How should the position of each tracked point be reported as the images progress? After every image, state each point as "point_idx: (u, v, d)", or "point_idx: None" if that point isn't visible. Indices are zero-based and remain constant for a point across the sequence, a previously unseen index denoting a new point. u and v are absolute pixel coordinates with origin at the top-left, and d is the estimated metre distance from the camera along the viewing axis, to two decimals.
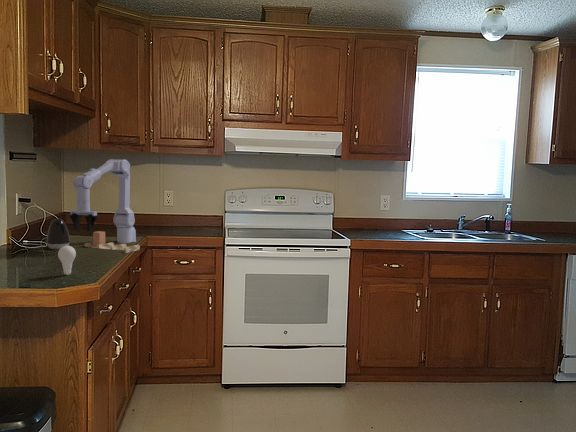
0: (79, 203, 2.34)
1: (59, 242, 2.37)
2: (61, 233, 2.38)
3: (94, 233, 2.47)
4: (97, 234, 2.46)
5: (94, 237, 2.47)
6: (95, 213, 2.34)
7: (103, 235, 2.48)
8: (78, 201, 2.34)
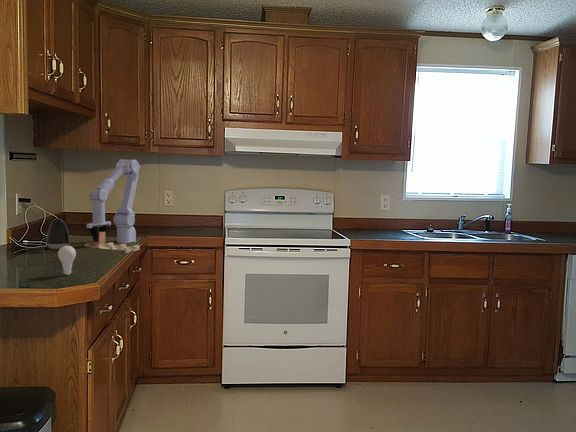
0: None
1: (59, 242, 2.37)
2: (61, 233, 2.38)
3: None
4: None
5: None
6: (88, 225, 2.41)
7: (103, 235, 2.48)
8: None
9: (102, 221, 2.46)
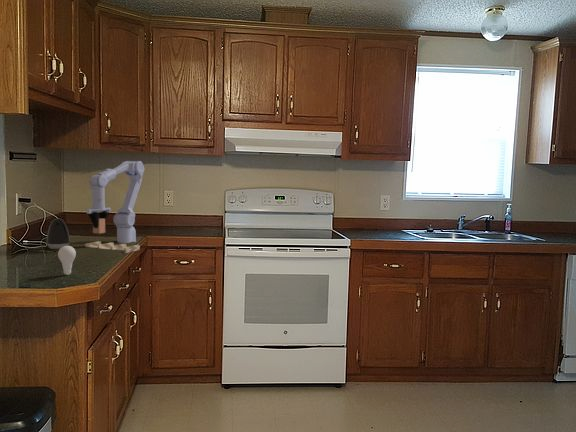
0: None
1: (59, 242, 2.37)
2: (61, 233, 2.38)
3: None
4: None
5: None
6: (87, 211, 2.41)
7: (103, 222, 2.48)
8: None
9: (102, 207, 2.45)
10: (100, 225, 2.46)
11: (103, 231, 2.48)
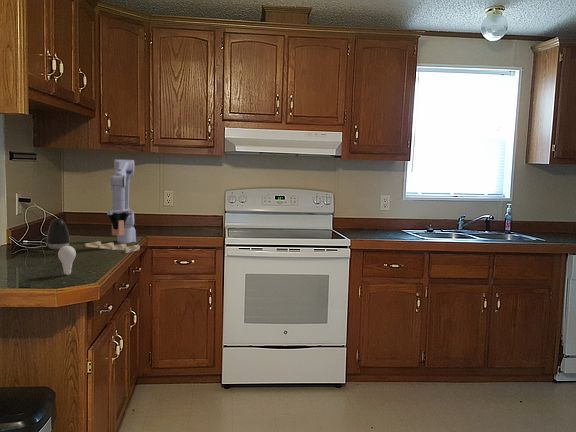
0: None
1: (59, 242, 2.37)
2: (61, 233, 2.38)
3: None
4: None
5: None
6: (108, 212, 2.36)
7: (122, 223, 2.43)
8: None
9: (122, 208, 2.41)
10: (119, 227, 2.42)
11: (122, 233, 2.44)
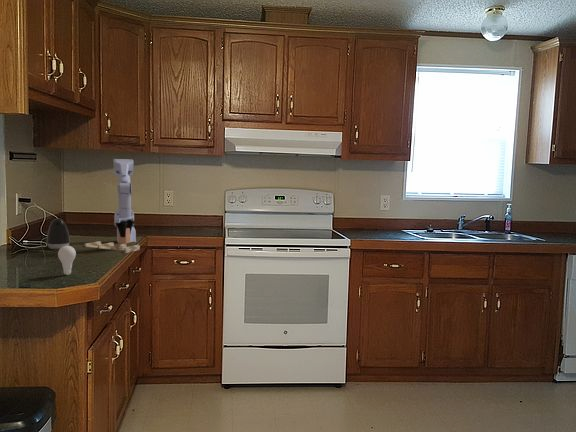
0: None
1: (59, 242, 2.37)
2: (61, 233, 2.38)
3: None
4: None
5: (119, 233, 2.40)
6: (117, 220, 2.34)
7: (128, 231, 2.42)
8: None
9: (129, 215, 2.40)
10: (126, 235, 2.41)
11: (128, 241, 2.43)
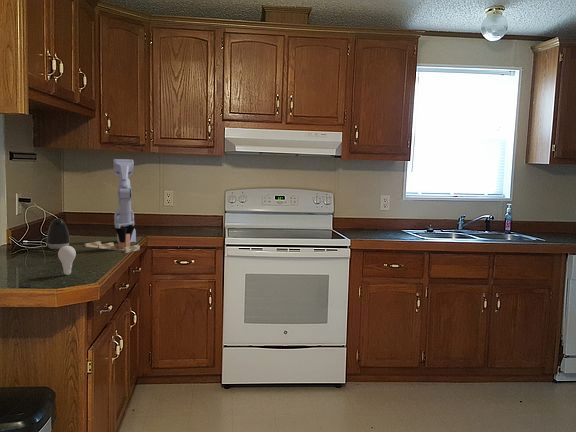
0: None
1: (59, 242, 2.37)
2: (61, 233, 2.38)
3: None
4: None
5: None
6: (117, 226, 2.35)
7: (128, 237, 2.43)
8: None
9: (129, 221, 2.40)
10: (126, 241, 2.41)
11: None
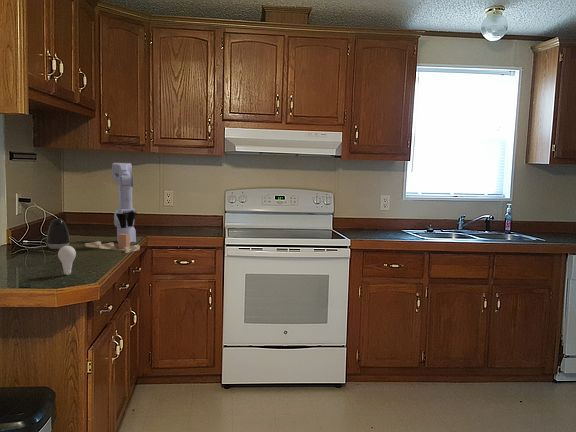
0: None
1: (59, 242, 2.37)
2: (61, 233, 2.38)
3: (120, 235, 2.41)
4: (123, 236, 2.40)
5: (119, 239, 2.41)
6: (119, 211, 2.42)
7: (128, 237, 2.43)
8: None
9: (131, 207, 2.48)
10: (126, 241, 2.41)
11: None
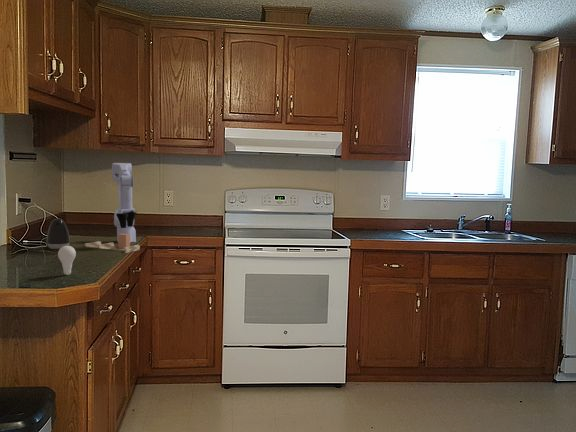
0: None
1: (59, 242, 2.37)
2: (61, 233, 2.38)
3: (120, 235, 2.41)
4: (123, 236, 2.40)
5: (119, 239, 2.41)
6: (119, 211, 2.42)
7: (128, 237, 2.43)
8: None
9: (131, 207, 2.48)
10: (126, 241, 2.41)
11: None
